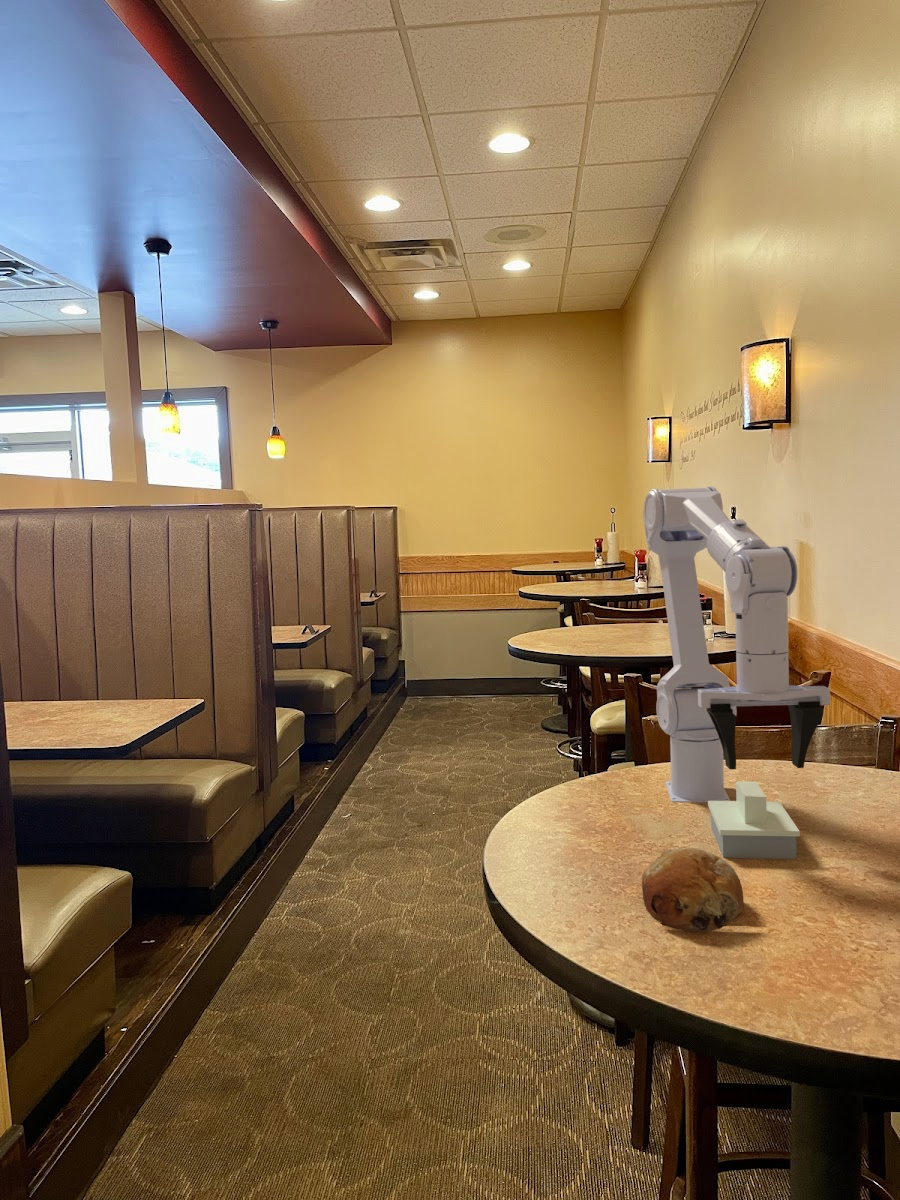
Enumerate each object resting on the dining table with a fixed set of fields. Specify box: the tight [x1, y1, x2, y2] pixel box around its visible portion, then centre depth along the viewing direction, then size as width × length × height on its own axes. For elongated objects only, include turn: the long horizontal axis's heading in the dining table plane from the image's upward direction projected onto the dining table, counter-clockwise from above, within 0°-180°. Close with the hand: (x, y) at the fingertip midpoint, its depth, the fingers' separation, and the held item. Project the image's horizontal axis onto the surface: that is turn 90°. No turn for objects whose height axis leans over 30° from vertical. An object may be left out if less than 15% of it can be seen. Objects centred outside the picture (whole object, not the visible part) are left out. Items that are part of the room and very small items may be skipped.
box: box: [710, 813, 798, 860], centre depth 102 cm, size 10×8×3 cm
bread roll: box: [641, 847, 744, 932], centre depth 86 cm, size 10×10×8 cm
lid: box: [707, 780, 801, 837], centre depth 101 cm, size 11×9×5 cm
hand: (764, 766), depth 100 cm, fingers open, 7 cm apart
